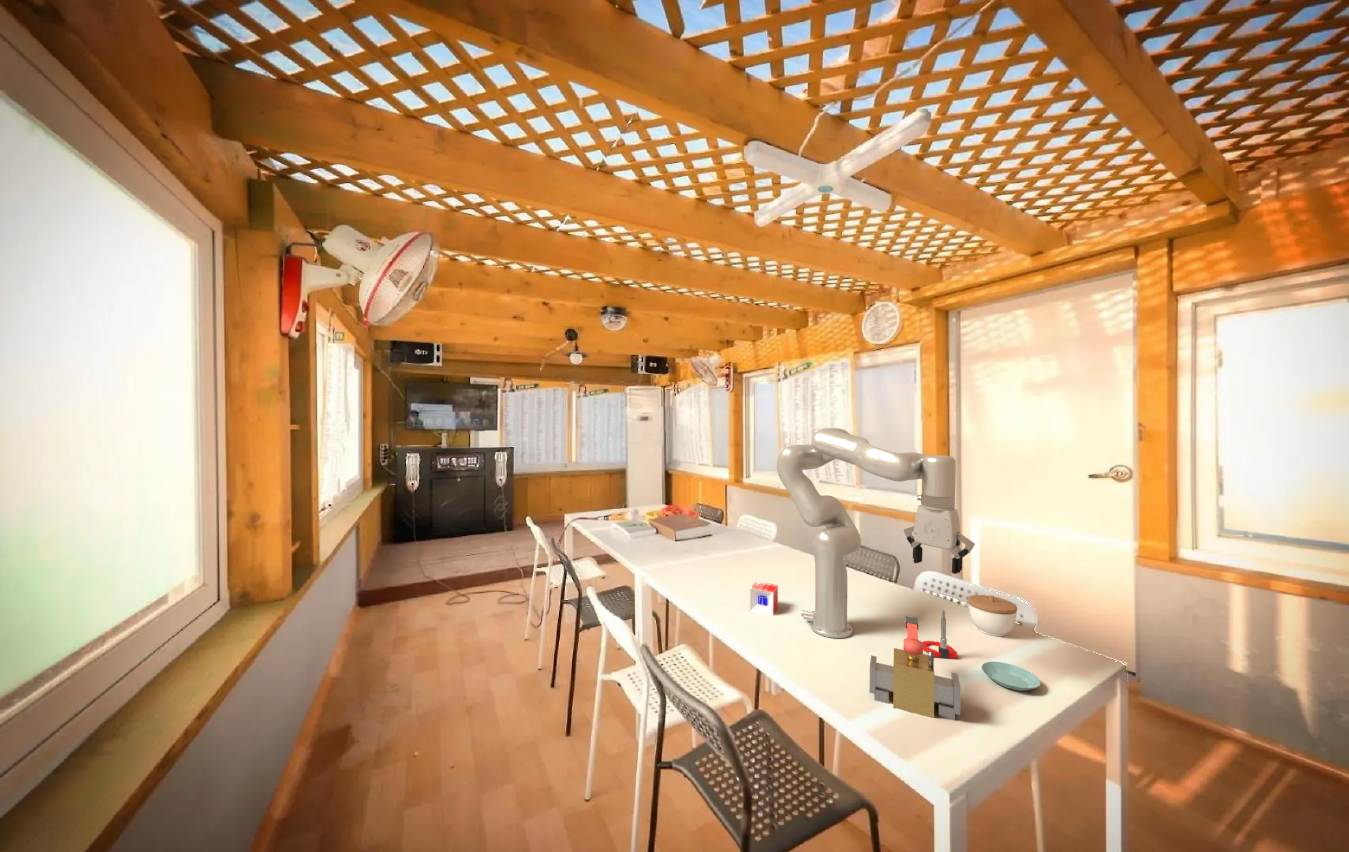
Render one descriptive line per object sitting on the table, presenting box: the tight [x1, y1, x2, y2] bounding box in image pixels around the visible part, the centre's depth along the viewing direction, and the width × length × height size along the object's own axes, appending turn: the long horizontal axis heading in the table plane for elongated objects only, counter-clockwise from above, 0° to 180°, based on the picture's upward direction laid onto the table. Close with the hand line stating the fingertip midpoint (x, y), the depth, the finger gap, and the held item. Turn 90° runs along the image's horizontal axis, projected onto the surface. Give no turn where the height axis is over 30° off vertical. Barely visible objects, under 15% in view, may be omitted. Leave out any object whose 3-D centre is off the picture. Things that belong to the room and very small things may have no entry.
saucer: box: [981, 661, 1041, 692], centre depth 113 cm, size 12×12×2 cm
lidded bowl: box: [967, 594, 1018, 637], centre depth 141 cm, size 13×13×11 cm
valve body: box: [869, 647, 962, 721], centre depth 104 cm, size 18×8×14 cm, turn 63°
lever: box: [902, 615, 924, 655], centre depth 110 cm, size 18×4×2 cm, turn 153°
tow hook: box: [921, 609, 959, 660], centre depth 129 cm, size 8×13×9 cm
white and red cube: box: [749, 581, 779, 616], centre depth 157 cm, size 8×8×8 cm
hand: (936, 567), depth 119 cm, fingers open, 9 cm apart
